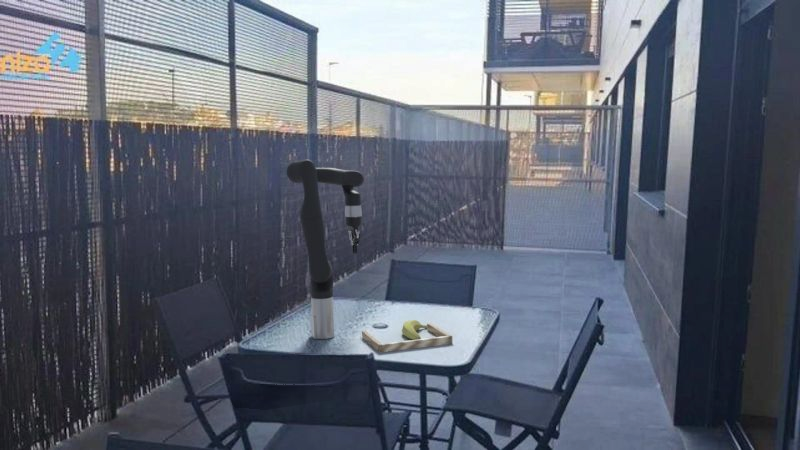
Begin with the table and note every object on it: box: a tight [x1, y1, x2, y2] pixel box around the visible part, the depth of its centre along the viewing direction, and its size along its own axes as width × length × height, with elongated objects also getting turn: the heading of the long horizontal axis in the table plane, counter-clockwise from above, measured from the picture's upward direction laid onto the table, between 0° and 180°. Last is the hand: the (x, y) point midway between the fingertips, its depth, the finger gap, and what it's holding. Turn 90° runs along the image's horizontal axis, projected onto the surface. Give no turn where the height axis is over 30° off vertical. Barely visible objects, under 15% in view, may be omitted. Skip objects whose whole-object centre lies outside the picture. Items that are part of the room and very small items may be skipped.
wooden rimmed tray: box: [361, 322, 453, 354], centre depth 286 cm, size 31×24×3 cm
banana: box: [401, 319, 427, 340], centre depth 296 cm, size 14×6×20 cm
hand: (354, 253), depth 315 cm, fingers closed
